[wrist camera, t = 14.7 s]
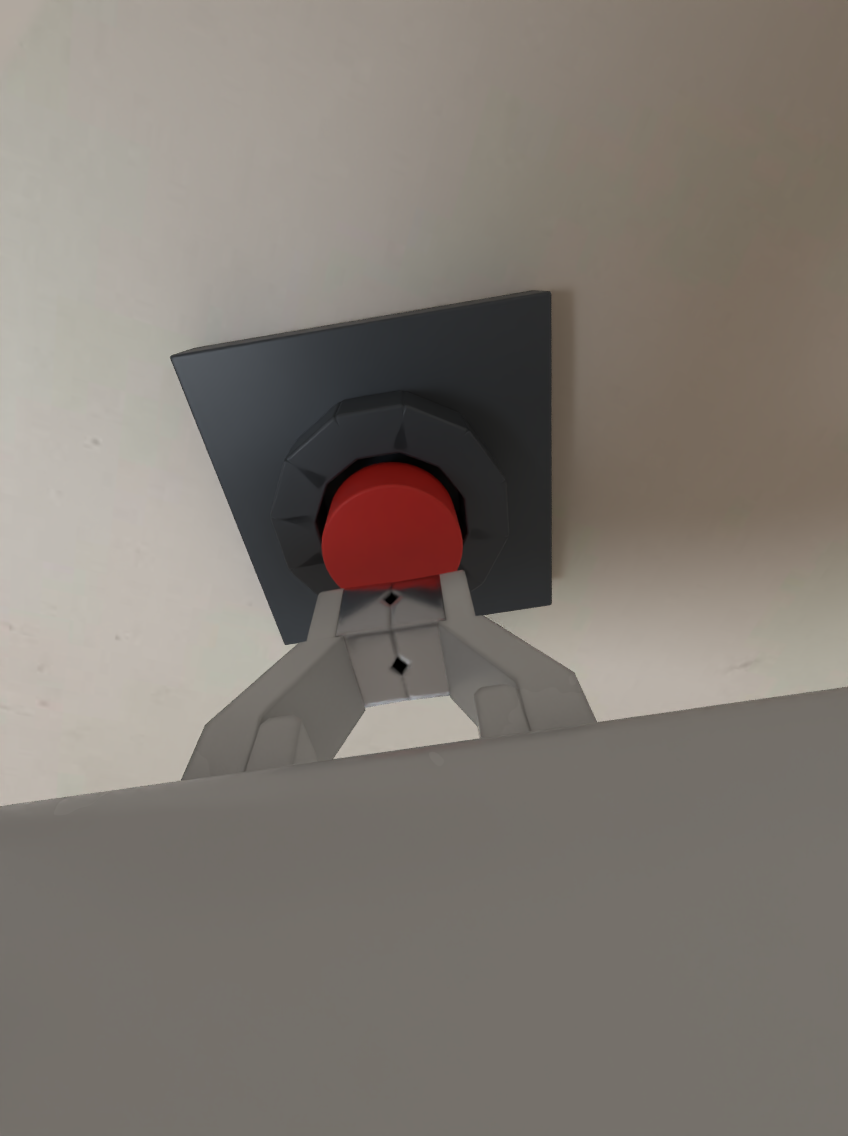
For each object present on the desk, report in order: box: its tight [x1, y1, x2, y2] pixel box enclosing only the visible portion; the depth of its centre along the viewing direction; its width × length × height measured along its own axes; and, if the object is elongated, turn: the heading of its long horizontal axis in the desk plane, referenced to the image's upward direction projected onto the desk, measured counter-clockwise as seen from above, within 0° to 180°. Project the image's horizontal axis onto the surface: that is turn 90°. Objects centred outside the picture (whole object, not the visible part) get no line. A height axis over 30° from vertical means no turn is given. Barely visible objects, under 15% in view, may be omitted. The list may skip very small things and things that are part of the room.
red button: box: [321, 462, 463, 589], centre depth 13 cm, size 4×4×2 cm
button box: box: [170, 290, 552, 645], centre depth 14 cm, size 10×10×4 cm
